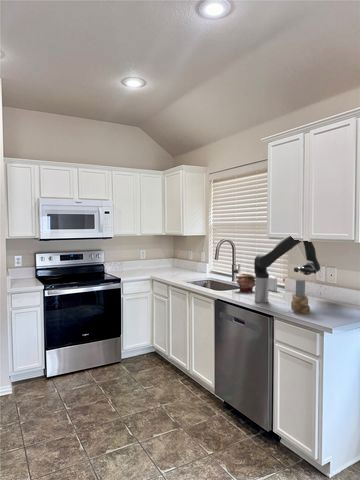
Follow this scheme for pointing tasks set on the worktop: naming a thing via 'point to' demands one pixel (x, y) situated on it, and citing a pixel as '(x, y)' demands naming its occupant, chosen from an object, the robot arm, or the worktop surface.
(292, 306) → the block lower
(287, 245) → the robot arm
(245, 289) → the decorative planter
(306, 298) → the block upper
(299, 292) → the tall block
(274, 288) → the photo printer
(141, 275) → the worktop surface
